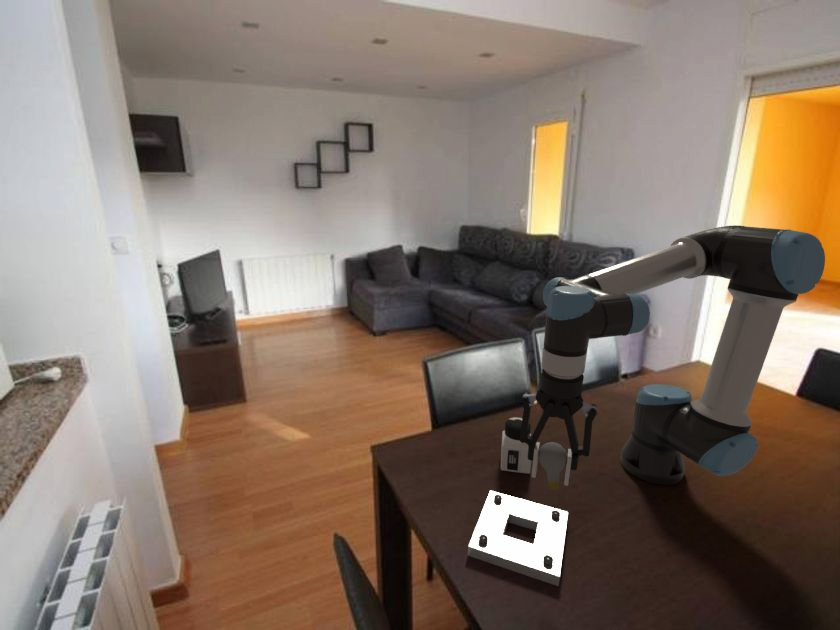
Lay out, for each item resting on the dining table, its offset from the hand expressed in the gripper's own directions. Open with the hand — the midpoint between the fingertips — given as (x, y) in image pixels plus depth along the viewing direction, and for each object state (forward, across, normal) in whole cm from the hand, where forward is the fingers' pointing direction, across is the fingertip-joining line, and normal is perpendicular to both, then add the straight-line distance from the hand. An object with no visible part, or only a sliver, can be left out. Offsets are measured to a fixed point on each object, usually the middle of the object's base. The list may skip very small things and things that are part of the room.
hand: (550, 477), depth 85 cm
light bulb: (+3, -1, 0) cm, 3 cm away
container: (+17, +10, -26) cm, 33 cm away
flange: (+17, +5, -1) cm, 18 cm away
